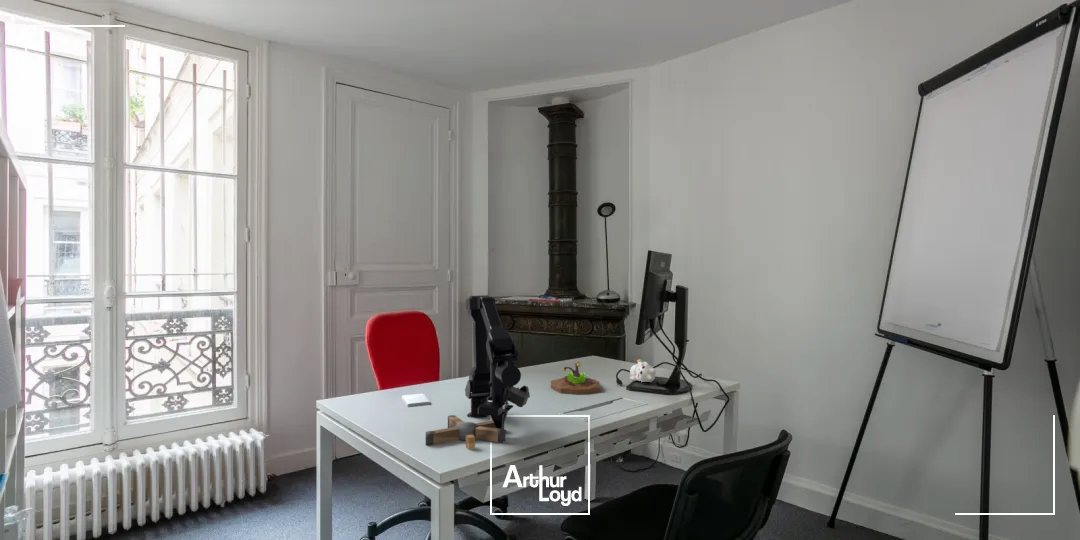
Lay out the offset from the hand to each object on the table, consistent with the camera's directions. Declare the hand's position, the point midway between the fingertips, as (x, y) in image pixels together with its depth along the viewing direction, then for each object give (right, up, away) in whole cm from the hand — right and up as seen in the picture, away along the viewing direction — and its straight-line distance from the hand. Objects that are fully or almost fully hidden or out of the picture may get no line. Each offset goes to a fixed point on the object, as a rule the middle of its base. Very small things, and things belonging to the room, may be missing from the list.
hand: (500, 431), depth 163 cm
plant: (+26, 0, +57) cm, 63 cm away
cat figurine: (+55, 0, +68) cm, 87 cm away
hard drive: (-33, -1, +38) cm, 50 cm away
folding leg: (-2, -1, -4) cm, 4 cm away
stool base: (-11, -2, 0) cm, 11 cm away
